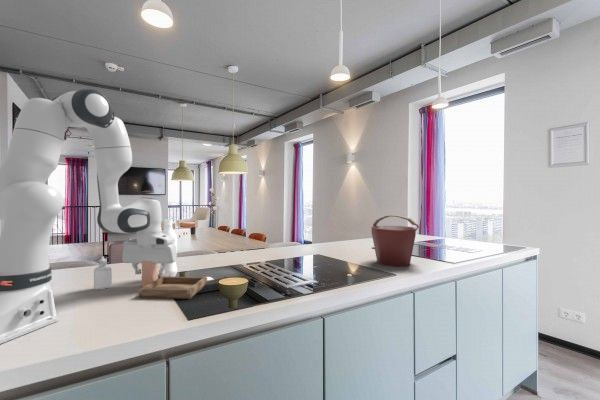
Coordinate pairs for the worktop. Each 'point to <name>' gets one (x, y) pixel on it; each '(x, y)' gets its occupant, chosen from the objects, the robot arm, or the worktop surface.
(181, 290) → the tray
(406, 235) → the bucket
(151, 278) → the shaker
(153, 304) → the worktop surface
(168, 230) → the water bottle
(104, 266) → the eye dropper bottle
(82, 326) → the worktop surface
